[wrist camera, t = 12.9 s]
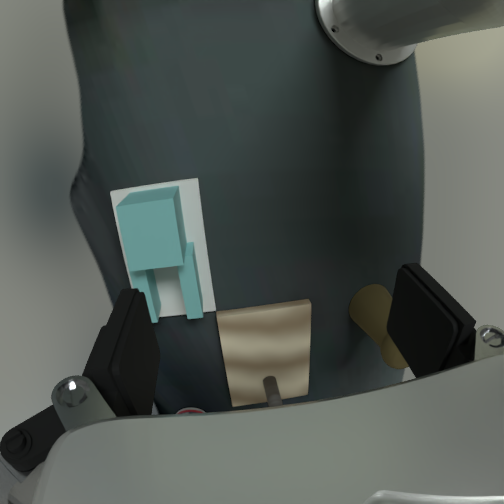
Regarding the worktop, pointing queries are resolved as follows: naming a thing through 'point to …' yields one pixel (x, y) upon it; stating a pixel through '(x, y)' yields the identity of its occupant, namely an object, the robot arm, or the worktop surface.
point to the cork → (376, 321)
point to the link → (159, 246)
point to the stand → (266, 351)
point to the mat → (195, 233)
